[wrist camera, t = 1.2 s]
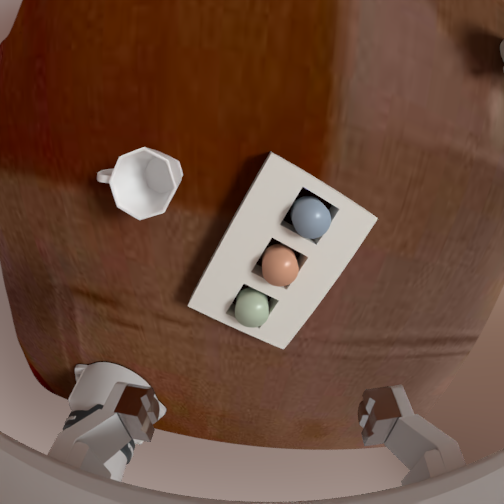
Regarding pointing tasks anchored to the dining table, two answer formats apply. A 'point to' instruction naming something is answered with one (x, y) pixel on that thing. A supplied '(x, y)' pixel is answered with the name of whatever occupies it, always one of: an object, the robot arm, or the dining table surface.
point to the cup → (143, 182)
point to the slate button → (310, 217)
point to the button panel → (273, 226)
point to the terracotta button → (279, 265)
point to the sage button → (251, 308)
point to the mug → (502, 51)
